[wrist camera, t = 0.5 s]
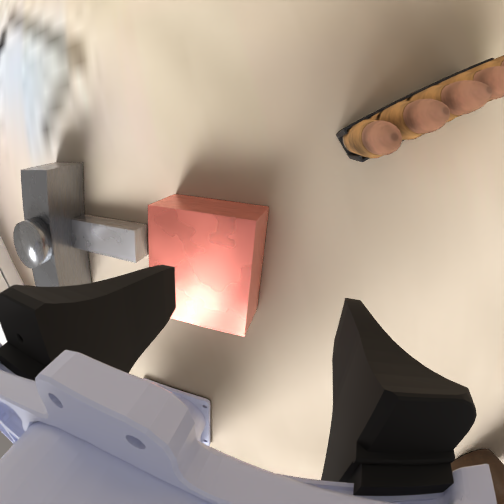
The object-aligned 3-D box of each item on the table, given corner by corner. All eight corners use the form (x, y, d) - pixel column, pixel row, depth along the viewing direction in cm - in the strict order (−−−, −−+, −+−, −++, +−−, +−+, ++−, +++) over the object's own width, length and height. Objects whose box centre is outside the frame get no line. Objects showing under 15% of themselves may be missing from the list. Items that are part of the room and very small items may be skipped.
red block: (257, 308, 24) (244, 336, 20) (174, 290, 25) (152, 312, 22) (269, 206, 21) (256, 220, 17) (175, 193, 22) (147, 205, 19)
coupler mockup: (150, 303, 26) (112, 340, 21) (66, 277, 28) (26, 302, 23) (147, 165, 22) (95, 176, 16) (55, 162, 24) (6, 173, 18)
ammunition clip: (462, 71, 14) (569, 27, 3) (475, 95, 14) (591, 73, 3) (335, 134, 18) (346, 121, 7) (350, 159, 18) (381, 183, 7)
